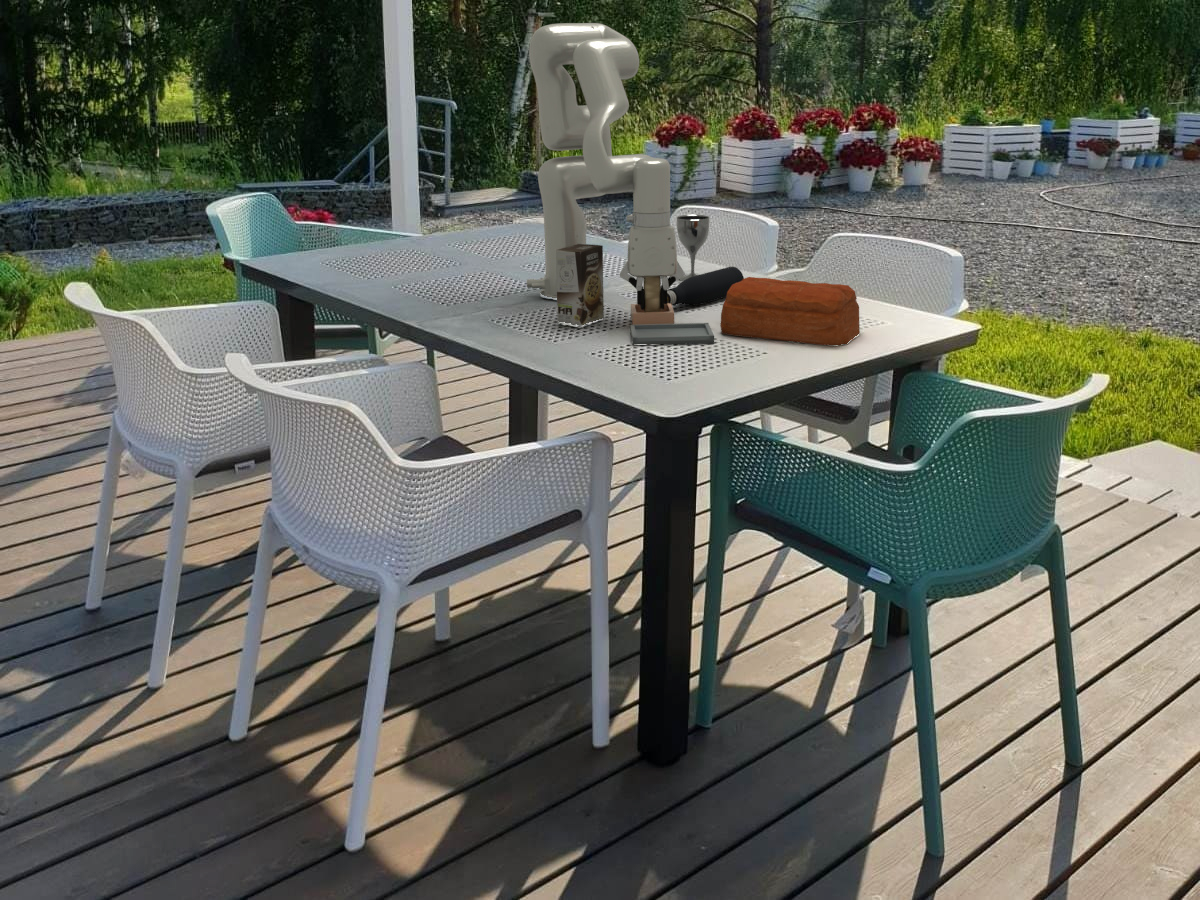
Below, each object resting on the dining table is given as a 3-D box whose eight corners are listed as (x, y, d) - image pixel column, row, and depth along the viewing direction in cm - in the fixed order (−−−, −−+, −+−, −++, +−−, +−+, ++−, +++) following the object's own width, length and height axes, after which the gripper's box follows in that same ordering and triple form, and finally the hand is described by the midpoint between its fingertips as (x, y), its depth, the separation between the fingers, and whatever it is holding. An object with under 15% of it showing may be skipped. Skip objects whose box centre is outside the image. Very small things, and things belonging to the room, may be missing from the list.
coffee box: (582, 329, 257) (580, 251, 252) (556, 325, 260) (554, 249, 255) (605, 320, 264) (604, 244, 259) (580, 316, 268) (578, 242, 262)
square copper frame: (633, 328, 256) (632, 313, 255) (630, 318, 265) (630, 304, 264) (674, 327, 257) (674, 312, 256) (670, 318, 265) (671, 303, 264)
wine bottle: (749, 284, 283) (664, 309, 262) (731, 299, 287) (646, 323, 267) (735, 261, 284) (649, 283, 263) (717, 275, 288) (632, 298, 268)
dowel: (644, 325, 259) (643, 273, 255) (643, 321, 262) (642, 270, 259) (661, 325, 259) (661, 273, 255) (660, 321, 262) (660, 269, 259)
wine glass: (672, 280, 302) (672, 219, 297) (682, 274, 309) (682, 214, 304) (703, 282, 299) (703, 220, 294) (712, 276, 306) (713, 215, 301)
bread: (841, 350, 238) (843, 296, 234) (713, 336, 250) (714, 284, 247) (865, 332, 251) (868, 280, 247) (742, 320, 263) (743, 270, 259)
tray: (633, 345, 243) (633, 337, 243) (630, 332, 253) (630, 324, 253) (714, 343, 243) (714, 335, 243) (708, 330, 254) (708, 322, 253)
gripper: (612, 224, 250) (613, 312, 256) (693, 222, 250) (693, 311, 256) (610, 218, 257) (612, 305, 263) (690, 216, 257) (689, 303, 263)
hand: (652, 307), depth 259 cm, fingers closed on dowel, 3 cm apart
